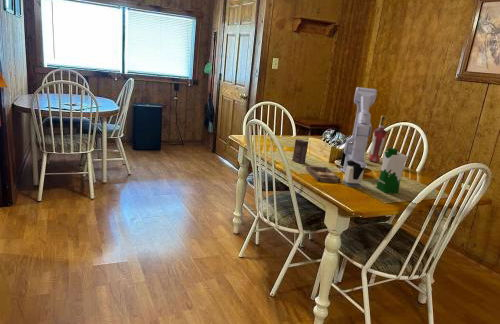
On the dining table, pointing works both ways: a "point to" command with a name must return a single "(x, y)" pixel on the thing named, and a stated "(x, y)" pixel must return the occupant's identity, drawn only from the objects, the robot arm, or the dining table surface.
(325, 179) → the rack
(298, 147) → the box
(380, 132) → the liquor
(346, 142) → the robot arm
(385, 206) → the dining table surface
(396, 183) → the milk carton
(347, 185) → the mat
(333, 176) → the tan rectangular block
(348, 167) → the cream rectangular prism
